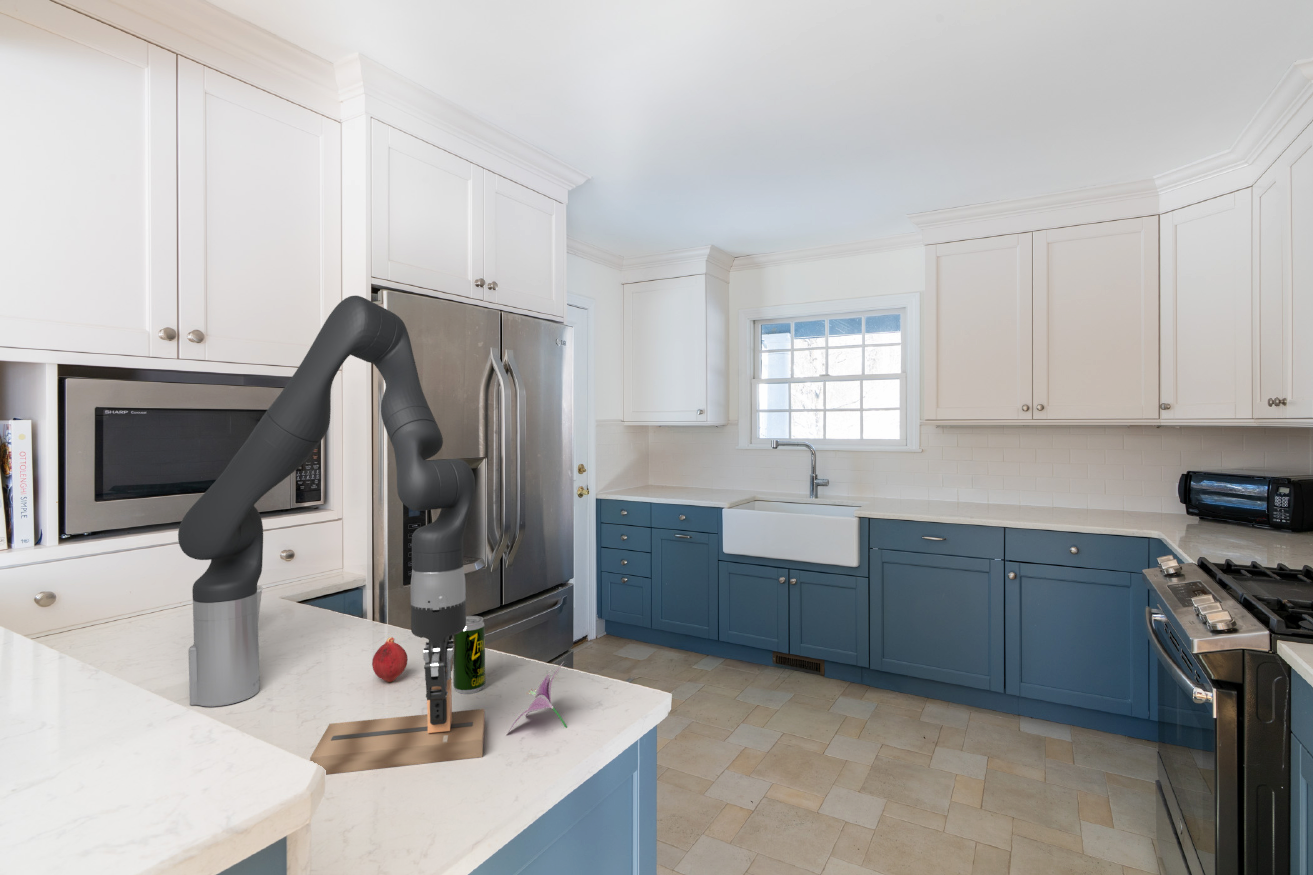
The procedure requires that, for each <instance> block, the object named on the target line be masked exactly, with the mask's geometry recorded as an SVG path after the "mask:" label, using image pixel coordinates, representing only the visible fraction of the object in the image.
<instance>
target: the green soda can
mask: <svg viewBox="0 0 1313 875" xmlns="http://www.w3.org/2000/svg"><path fill="white" fill-rule="evenodd" d="M485 625H486V624H485V622H484V618H483V617H482V616H478V615H466V627H465V629H464V630H463V631H462V632H460V633H458V634H456V635H452V640H454V652H453V668H452V672H453V673H452V676H453V678H452V679H453V681H452V683H453V685H452V686H453V687H454V688H453V689H454V690H455V692H456V693H458V694H464V695H467V694H470V695H471V694H475V693H478V692H480V691H482V690H483V689H484V688H485V685H486V631H485V630H486V626H485Z"/></svg>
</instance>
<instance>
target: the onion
mask: <svg viewBox="0 0 1313 875" xmlns="http://www.w3.org/2000/svg"><path fill="white" fill-rule="evenodd" d="M371 662H372V663H371V666H372V669H373V672H374V674H375V676H377V677H378V678H379V679H381V680H383V681H385V682H387V683H392V682H395V681H396V679H397V678H398V677H400V676H401V674H403V672H404V671H405V669H406V668H407V665H408V654H407V651H406V650H405V649H404V648H403V647H402V646H401V645H400V644H399V643H396V642H395V638H394V637H393V636H391V637H388V638H387V639H386V641H385V642H384V644H382V645H381V646H380V647H379V648H378V649H377V650H376V651H375V653H374V654H373V657H372V660H371Z"/></svg>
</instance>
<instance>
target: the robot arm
mask: <svg viewBox="0 0 1313 875" xmlns="http://www.w3.org/2000/svg"><path fill="white" fill-rule="evenodd" d="M413 352H414V351H413V347H412V343H411V339H410V335H409V332H408V328H407V326H406V325H405V322H404V321H403V319H402V318H401V317H400V316H399V315H397V314H396V313H395V312H393V311H391V310H389V309H387V308H385V307H384V306H381V305H379V304H377V303H375V302H373V301H371V300H369V299H367V298H365V297H363V296H361V295H351V296H348V297H345V298H343V300H341V301H340V302H339V303H338V304H337V305H336V306H335V307H334V309H333V310H332V311H331V313H330V314H329V316H328V317H327V318H326V320H325V322H324V324H323V325H322V326H321V328H320V331H319V332H318V334H317V335H316V338H315V339H314V341H313V343H312V344H311V346H310V348H309V349H308V351H307V352H306V355H305V356H304V358H303V360H302V362H301V363H300V364H299V366H298V368H297V369H296V370H295V372H294V374H293V375H292V376H291V377H290V379H289V381H288V382H287V383H286V385H285V386H284V388H283V389H282V391H280V394H279V395H278V396H277V397H276V399H275V400H274V401H273V402H272V403H271V405H270V406H269V407H268V408H267V409H266V411H265V413H264V414H263V415H262V417H261V418H260V420H259V421H258V422H257V424H256V425H255V426H254V428H253V429H252V431H251V433H250V435H249V436H248V437H247V439H246V440H245V442H244V443H243V444H242V446H241V447H240V449H238V451H237V452H236V453H235V455H234V456H233V458H232V459H231V460H230V462H229V463H228V465H227V466H226V467H225V469H224V470H223V471H222V473H221V474H220V475H219V476H218V478H216V480H215V481H214V482H213V483H212V484H211V485H210V487H209V488H208V489H207V490H206V491H205V492H204V493H203V494H202V495H201V496H200V497H199V499H198V500H197V501H196V502H195V503H194V504H192V506H191V507H190V508H189V510H188V511H187V512H186V513H185V514H184V516H183V518H182V520H181V522H180V524H179V527H178V532H177V536H178V537H177V539H178V546H179V547H180V550H181V551H182V552H183V553H184V554H185V555H186V556H187V557H189V558H191V559H194V560H197V561H198V560H199V561H209V560H210V563H209V565H208V567H207V569H206V570H205V572H203V574H202V575H200V577H198V578H197V579H196V580H195V582H193V584H192V589H191V590H192V592H191V593H192V614H193V616H192V618H193V619H192V621H193V622H192V624H193V644H192V645H191V646H189V648H188V676H189V678H188V679H189V682H188V683H189V684H188V685H189V686H188V687H189V705H190V706H194V705H195V706H196V705H197V706H201V707H221V706H222V707H223V706H227V705H232V704H235V703H236V704H237V703H239V702H240V703H241V702H242V701H245V700H248V699H249V698H252V697H253V696H256V695H257V694H258V693H259V691H260V656H259V655H260V653H259V650H260V649H259V647H260V646H259V621H258V602H257V585H258V582H259V580H260V578H261V575H262V571H263V556H264V526H263V520H262V517H261V515H260V514H261V513H260V512H259V510H258V509H257V507H256V506H255V505H256V503H257V502H258V501H260V499H262V497H263V496H264V495H266V494H267V493H268V492H270V491H271V490H272V489H274V488H275V487H276V486H277V485H279V484H280V483H281V482H283V481H285V479H287V478H288V477H289V476H291V475H292V474H293V473H295V471H297V470H298V469H299V468H300V467H301V466H302V465H303V464H304V463H305V462H307V460H308V459H309V458H310V456H311V455H312V453H313V452H314V451H315V450H316V448H317V447H318V446H319V445H320V443H321V441H322V440H323V439H324V437H325V435H327V432H328V431H329V428H330V423H331V410H332V409H331V404H332V403H331V402H332V401H331V400H332V398H331V397H332V394H331V392H332V385H333V381H334V380H335V377H336V375H337V374H338V372H339V370H340V369H341V367H342V365H343V364H344V363H345V361H346V360H347V359H348V358H349V357H350V356H352V357H354V358H357V359H360V360H362V361H364V362H366V363H370V364H373V365H374V366H375V368H376V369H377V370H378V372H379V374H380V375H381V376H382V378H383V380H384V384H385V390H384V392H383V396H382V398H381V403H380V415H381V419H382V422H383V426H384V428H385V431H386V433H387V436H388V438H389V441H390V443H391V446H392V448H393V451H394V452H393V453H394V458H395V468H396V490H397V496H398V498H399V500H400V501H401V503H402V504H403V505H404V506H406V507H407V509H410V510H411V511H416V512H417V511H418V512H422V511H430V510H440V511H439V514H438V516H437V518H436V520H434V521H432V522H430V523H429V524H426V525H423V526H421V527H418V528H417V529H415V531H414V532H412V533H413V534H411V535H412V536H411V569H412V570H411V579H410V587H409V588H410V631H411V634H412V635H414V636H415V637H417V638H423V639H427V640H428V641H426V642H425V647H424V648H423V653H422V657H423V658H422V659H423V661H424V665H423V669H424V681H425V688H426V689H425V690H426V694H425V698H426V701H427V700H430V723H431V724H432V725H438V724H444V723H446V721H447V695H448V691H447V681H448V680H449V679H450V678H452V672H453V652H454V640H453V635H456V634H458V633H460V632H462V631H463V630H464V629H465V627H466V616H467V614H466V613H467V611H466V610H467V603H466V601H467V598H466V597H467V596H466V594H467V592H466V589H467V588H466V576H465V569H464V537H465V535H464V534H465V532H466V528H467V524H468V518H469V515H470V512H471V508H472V504H473V500H474V497H475V492H476V490H475V488H476V480H475V475H474V472H473V470H472V468H471V467H470V465H469V464H468V463H467V462H466V461H465V460H463V459H459V458H446V459H445V458H443V459H431V458H433V457H434V456H435V455H437V454H439V452H440V450H441V449H442V447H443V444H444V440H443V439H444V437H443V434H442V432H441V430H440V427H439V425H438V423H437V421H436V419H435V416H434V414H433V412H432V410H431V407H430V406H429V404H428V402H427V399H426V397H425V394H424V391H423V389H422V385H421V381H420V378H419V373H418V369H417V364H416V361H415V357H414V353H413ZM429 459H430V460H429ZM436 686H440V687H441V689H436V690H433V687H436Z"/></svg>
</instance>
